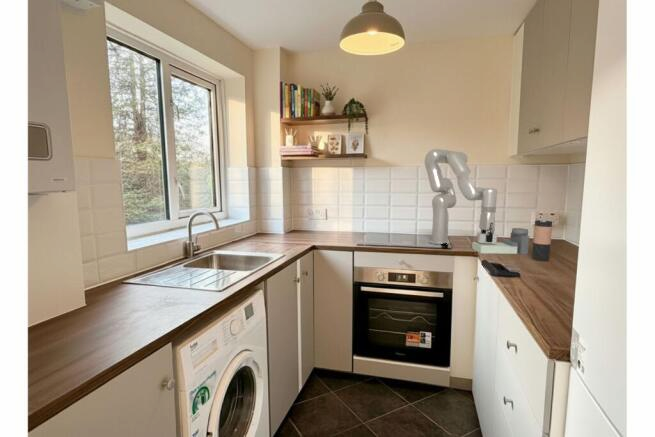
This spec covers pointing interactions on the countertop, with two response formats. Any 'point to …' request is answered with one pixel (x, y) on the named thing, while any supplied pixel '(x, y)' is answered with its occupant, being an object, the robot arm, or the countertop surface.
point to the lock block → (482, 237)
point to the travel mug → (542, 240)
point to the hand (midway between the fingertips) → (486, 240)
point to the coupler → (506, 244)
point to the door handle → (500, 269)
